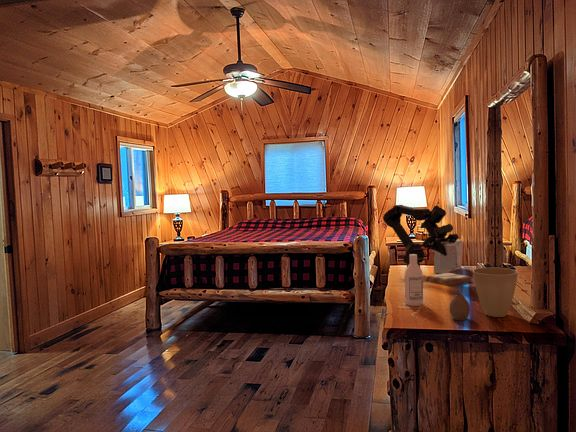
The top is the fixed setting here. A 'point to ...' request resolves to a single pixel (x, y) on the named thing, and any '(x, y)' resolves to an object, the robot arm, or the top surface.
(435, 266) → the skincare box
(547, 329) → the top surface
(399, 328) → the top surface
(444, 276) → the stand
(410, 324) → the top surface
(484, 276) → the plant pot
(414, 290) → the bath foam
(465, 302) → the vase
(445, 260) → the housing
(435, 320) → the top surface
